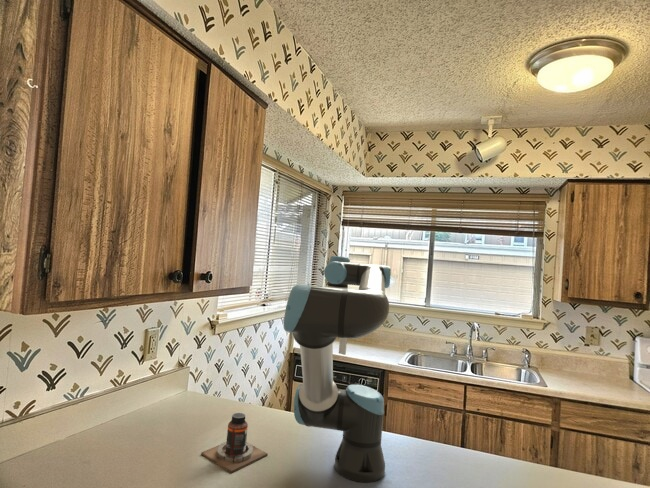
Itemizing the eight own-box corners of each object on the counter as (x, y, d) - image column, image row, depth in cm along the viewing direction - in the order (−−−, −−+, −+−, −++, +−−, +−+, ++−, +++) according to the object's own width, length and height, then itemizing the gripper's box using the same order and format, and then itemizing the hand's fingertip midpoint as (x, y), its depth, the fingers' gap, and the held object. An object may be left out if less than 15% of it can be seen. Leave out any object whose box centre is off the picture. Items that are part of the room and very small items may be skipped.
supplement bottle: (249, 453, 116) (252, 415, 117) (233, 460, 111) (237, 421, 112) (236, 446, 120) (240, 409, 120) (221, 452, 115) (224, 414, 116)
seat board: (267, 455, 117) (267, 453, 117) (231, 473, 106) (231, 471, 106) (237, 439, 125) (237, 437, 125) (201, 454, 114) (201, 452, 114)
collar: (259, 453, 117) (260, 449, 117) (232, 466, 108) (232, 462, 108) (237, 441, 123) (237, 437, 123) (209, 452, 115) (210, 448, 115)
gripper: (346, 296, 152) (342, 349, 151) (307, 297, 132) (301, 359, 131) (363, 298, 147) (358, 353, 146) (324, 300, 127) (318, 364, 126)
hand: (331, 356), depth 138 cm, fingers open, 13 cm apart
